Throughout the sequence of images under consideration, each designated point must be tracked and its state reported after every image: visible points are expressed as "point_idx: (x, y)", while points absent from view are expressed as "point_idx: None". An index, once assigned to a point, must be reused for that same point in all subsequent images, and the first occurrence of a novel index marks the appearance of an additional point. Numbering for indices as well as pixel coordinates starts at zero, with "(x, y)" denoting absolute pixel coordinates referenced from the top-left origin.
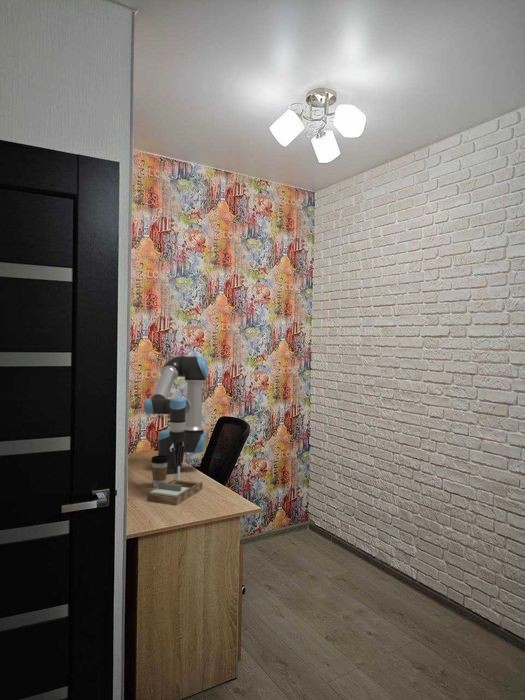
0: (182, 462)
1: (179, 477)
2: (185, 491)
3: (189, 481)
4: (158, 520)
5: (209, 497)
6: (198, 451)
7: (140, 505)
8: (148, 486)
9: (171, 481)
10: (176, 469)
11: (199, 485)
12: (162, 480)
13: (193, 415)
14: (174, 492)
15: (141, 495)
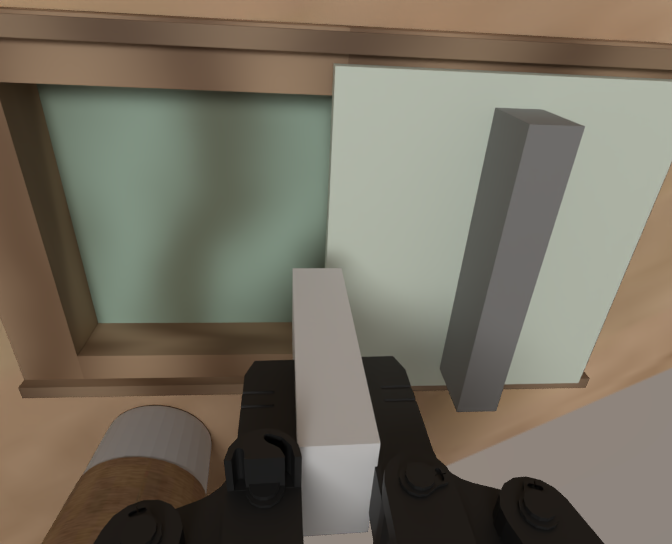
0: (140, 521)
1: (307, 288)
2: (458, 53)
3: None
4: None
5: None
6: None
7: (660, 334)
8: (209, 488)
9: (141, 389)
10: (405, 420)
11: (10, 9)
12: (168, 461)
13: None
14: (589, 156)
15: (427, 431)
